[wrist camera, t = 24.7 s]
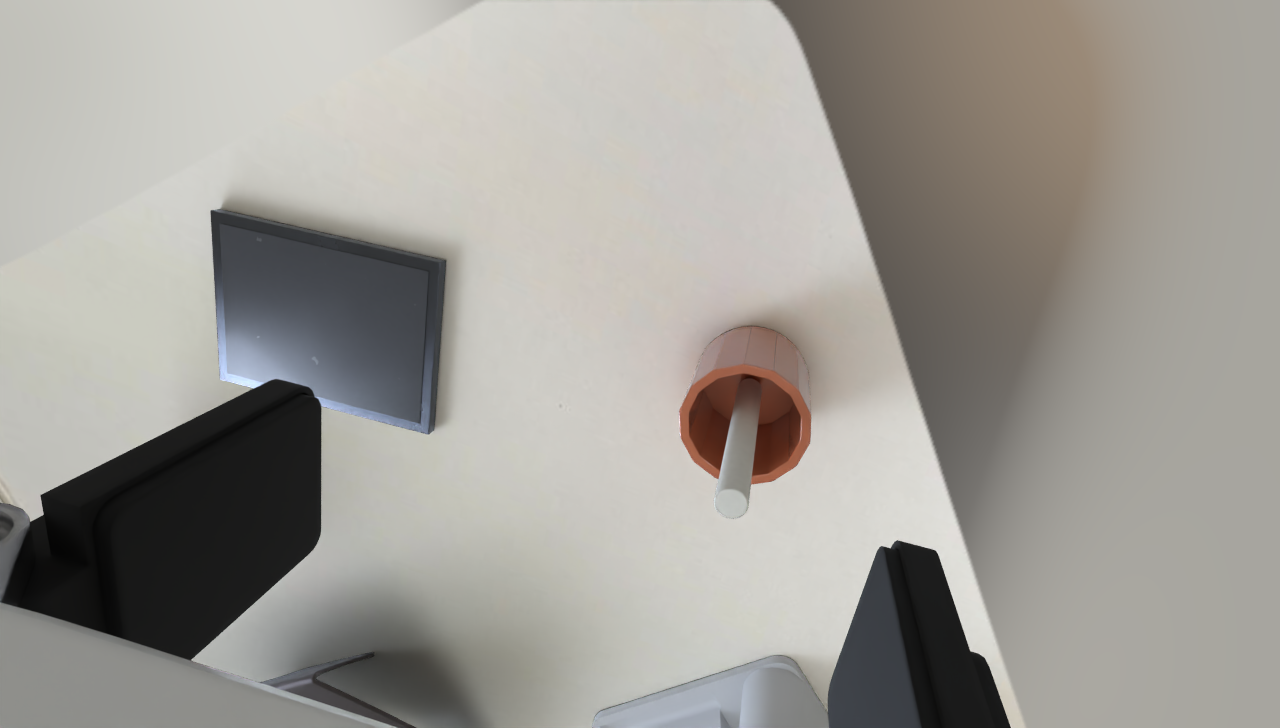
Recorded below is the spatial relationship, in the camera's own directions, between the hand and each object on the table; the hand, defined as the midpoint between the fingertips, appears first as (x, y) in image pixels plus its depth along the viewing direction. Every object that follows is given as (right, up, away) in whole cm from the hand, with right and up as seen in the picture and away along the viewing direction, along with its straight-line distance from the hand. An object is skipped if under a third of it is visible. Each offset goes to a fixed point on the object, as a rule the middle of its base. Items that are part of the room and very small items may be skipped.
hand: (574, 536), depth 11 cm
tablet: (-20, +6, +35) cm, 41 cm away
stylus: (+8, +2, +30) cm, 31 cm away
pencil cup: (+8, +2, +30) cm, 31 cm away
